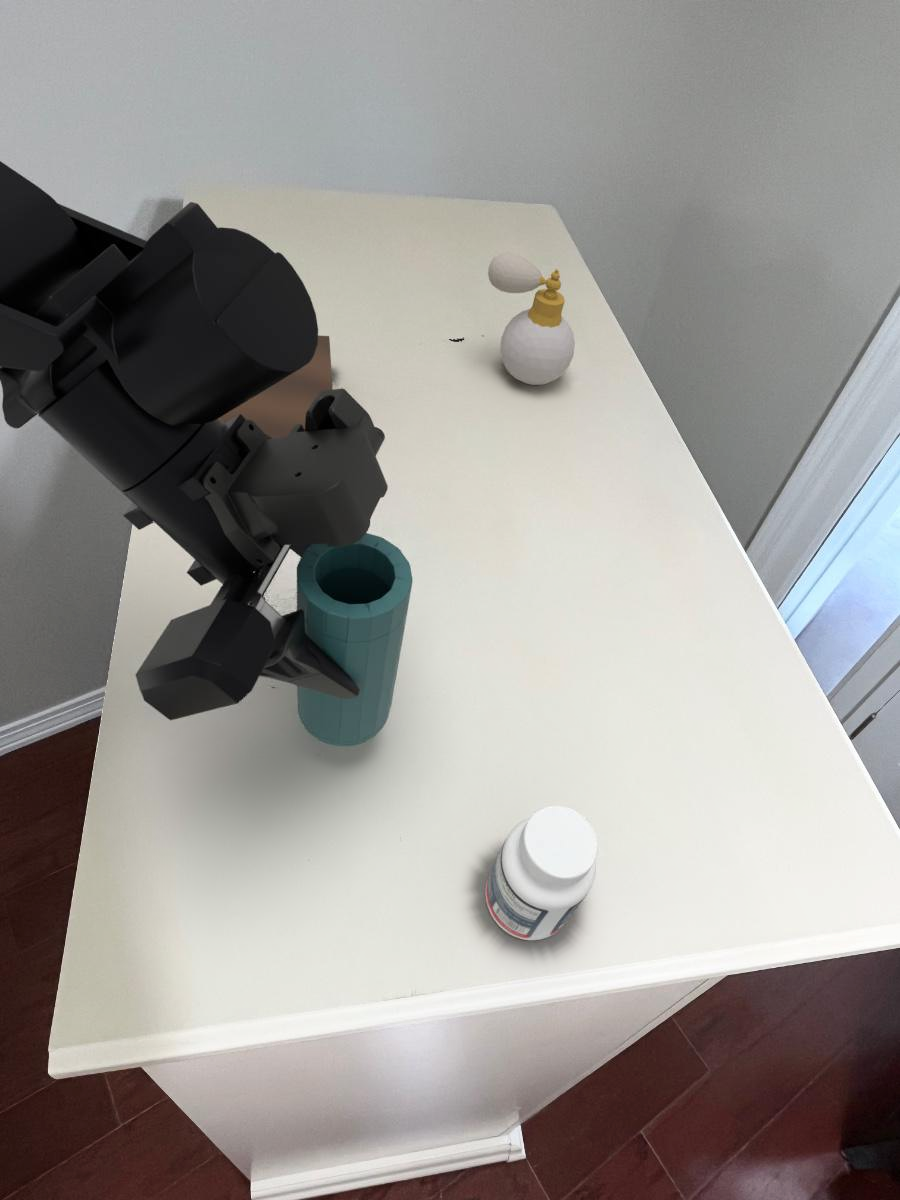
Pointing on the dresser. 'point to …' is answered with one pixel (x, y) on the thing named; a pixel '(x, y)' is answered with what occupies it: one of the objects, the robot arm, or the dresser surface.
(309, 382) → the brown wooden pedestal
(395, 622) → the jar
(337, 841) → the dresser surface
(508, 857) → the pill bottle
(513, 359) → the perfume bottle
